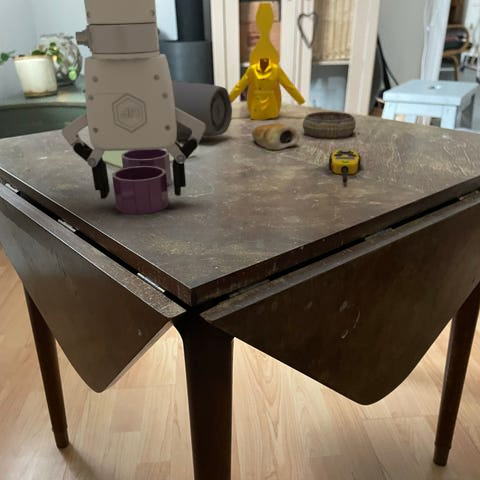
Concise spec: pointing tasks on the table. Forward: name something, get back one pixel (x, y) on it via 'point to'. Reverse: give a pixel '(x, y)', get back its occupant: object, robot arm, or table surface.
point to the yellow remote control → (344, 162)
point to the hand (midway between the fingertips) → (141, 193)
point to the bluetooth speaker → (203, 107)
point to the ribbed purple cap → (148, 160)
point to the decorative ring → (329, 124)
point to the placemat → (116, 157)
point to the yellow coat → (265, 73)
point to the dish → (140, 189)
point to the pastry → (275, 136)
